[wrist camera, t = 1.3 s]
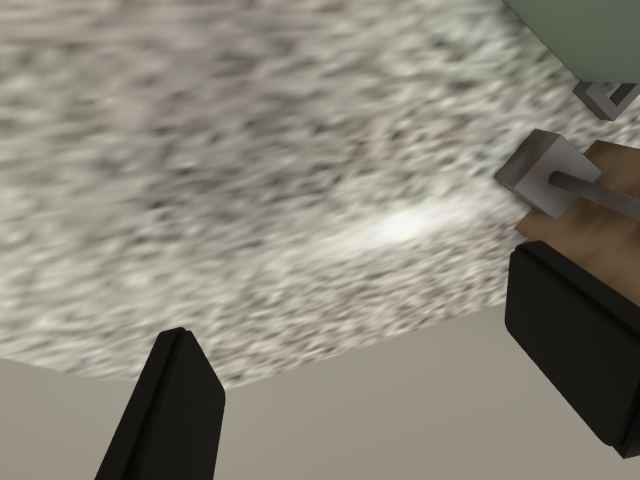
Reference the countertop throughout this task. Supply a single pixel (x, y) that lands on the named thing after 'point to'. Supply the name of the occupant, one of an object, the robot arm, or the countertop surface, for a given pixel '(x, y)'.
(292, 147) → the countertop surface
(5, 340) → the countertop surface
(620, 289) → the cabinet side
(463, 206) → the countertop surface
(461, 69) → the countertop surface
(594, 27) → the door
